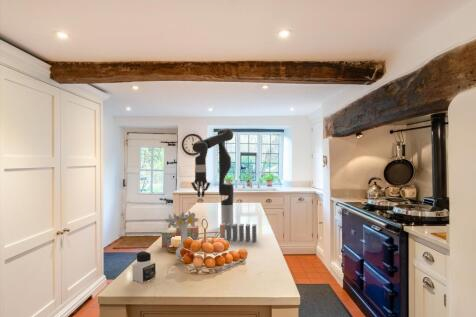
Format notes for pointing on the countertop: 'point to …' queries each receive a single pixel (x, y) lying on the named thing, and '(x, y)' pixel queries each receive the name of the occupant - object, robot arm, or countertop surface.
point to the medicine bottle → (144, 267)
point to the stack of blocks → (178, 234)
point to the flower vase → (182, 226)
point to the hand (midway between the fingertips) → (201, 196)
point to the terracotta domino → (222, 230)
